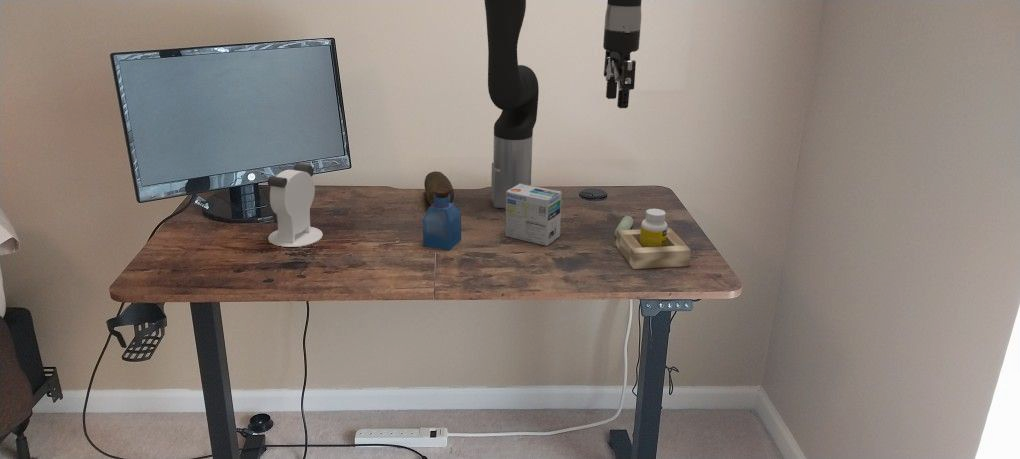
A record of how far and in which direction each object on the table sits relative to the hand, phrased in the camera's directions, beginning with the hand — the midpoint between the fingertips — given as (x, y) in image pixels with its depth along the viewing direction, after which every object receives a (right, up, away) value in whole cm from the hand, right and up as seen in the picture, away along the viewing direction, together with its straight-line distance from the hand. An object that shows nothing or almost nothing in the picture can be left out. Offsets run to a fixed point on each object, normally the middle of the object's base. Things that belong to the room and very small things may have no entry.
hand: (616, 103), depth 170 cm
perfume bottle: (-38, -31, -2) cm, 49 cm away
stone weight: (-41, -21, +21) cm, 50 cm away
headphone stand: (-70, -29, -1) cm, 76 cm away
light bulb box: (-18, -29, +2) cm, 35 cm away
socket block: (+7, -33, -6) cm, 34 cm away
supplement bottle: (+7, -33, -6) cm, 34 cm away
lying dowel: (+2, -26, +5) cm, 27 cm away
